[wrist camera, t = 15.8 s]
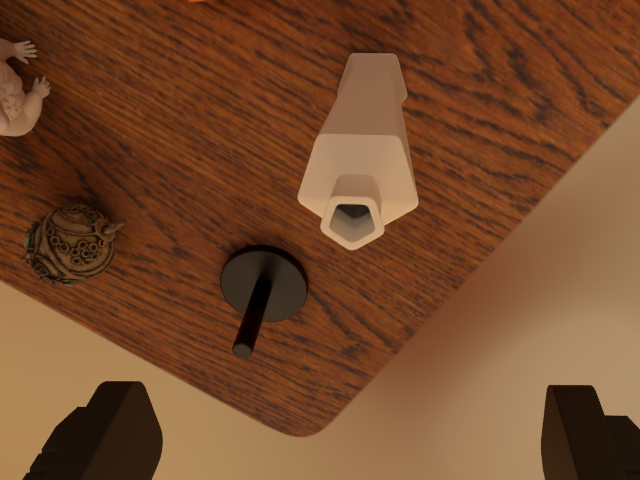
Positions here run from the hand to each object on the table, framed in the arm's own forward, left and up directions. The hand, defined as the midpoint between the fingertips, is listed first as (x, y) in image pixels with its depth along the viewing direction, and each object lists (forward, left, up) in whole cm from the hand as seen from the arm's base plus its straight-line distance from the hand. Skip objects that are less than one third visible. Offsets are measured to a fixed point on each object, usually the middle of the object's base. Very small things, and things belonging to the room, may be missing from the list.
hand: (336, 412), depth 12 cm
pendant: (-19, -9, -24) cm, 32 cm away
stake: (-8, -14, -24) cm, 29 cm away
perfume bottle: (0, -1, -24) cm, 24 cm away
